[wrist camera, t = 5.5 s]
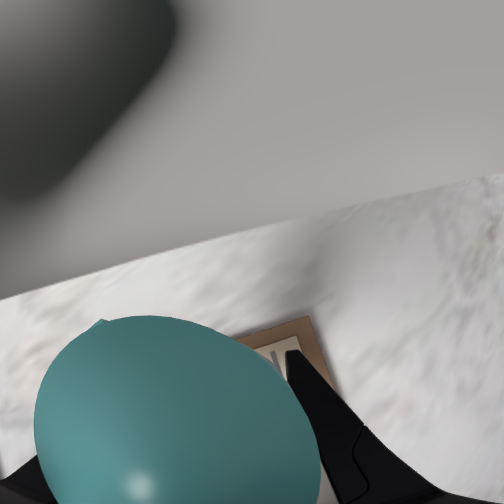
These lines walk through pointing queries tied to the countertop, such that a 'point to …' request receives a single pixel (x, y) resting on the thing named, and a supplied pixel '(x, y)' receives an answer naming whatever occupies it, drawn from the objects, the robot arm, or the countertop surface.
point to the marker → (171, 420)
